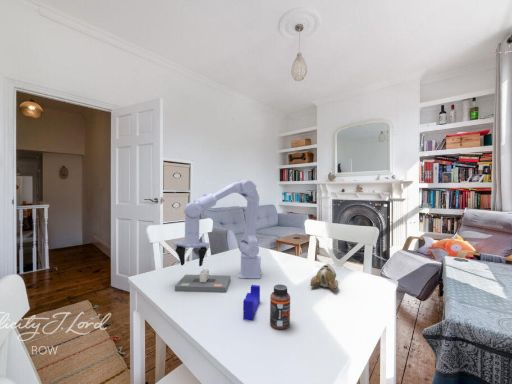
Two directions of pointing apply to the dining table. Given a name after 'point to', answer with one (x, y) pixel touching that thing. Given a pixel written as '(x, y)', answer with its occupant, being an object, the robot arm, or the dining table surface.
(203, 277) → the knob
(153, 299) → the dining table surface
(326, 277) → the ceramic sculpture
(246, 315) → the blue stepped block
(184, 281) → the switch panel
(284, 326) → the supplement bottle
